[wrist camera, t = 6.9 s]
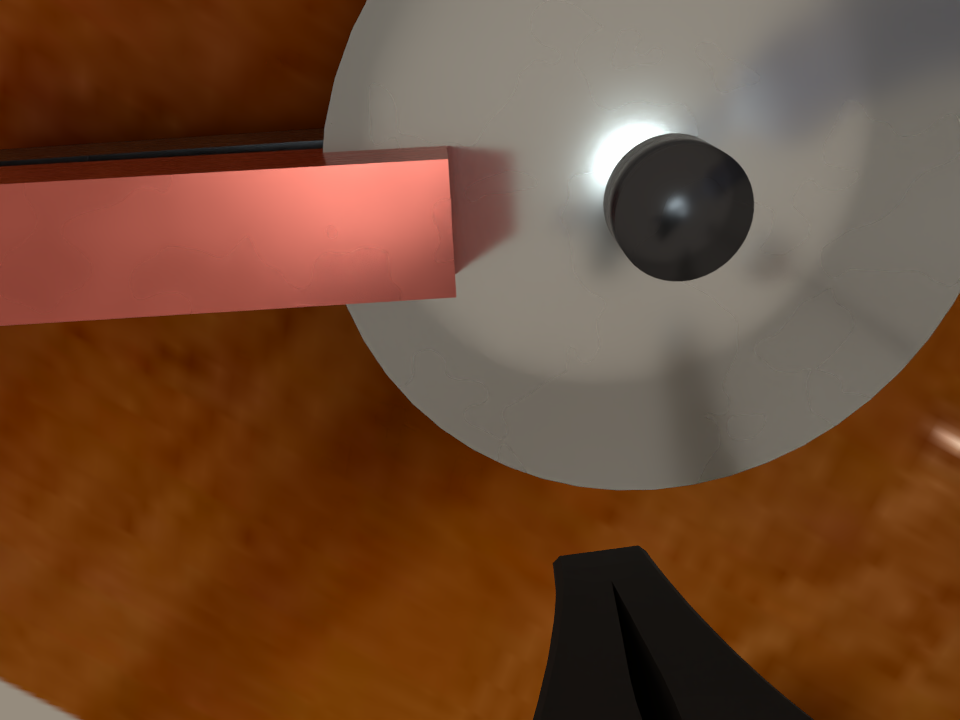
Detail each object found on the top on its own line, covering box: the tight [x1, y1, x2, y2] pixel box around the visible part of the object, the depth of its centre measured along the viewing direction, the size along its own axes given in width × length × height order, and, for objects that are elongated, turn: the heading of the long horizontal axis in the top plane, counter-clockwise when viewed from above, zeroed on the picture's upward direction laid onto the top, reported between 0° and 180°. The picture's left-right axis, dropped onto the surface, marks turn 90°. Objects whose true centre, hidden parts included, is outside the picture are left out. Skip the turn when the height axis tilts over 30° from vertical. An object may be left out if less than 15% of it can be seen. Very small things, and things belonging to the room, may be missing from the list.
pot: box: [0, 128, 324, 167], centre depth 18 cm, size 18×18×5 cm
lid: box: [0, 0, 960, 490], centre depth 15 cm, size 20×13×2 cm, turn 93°
